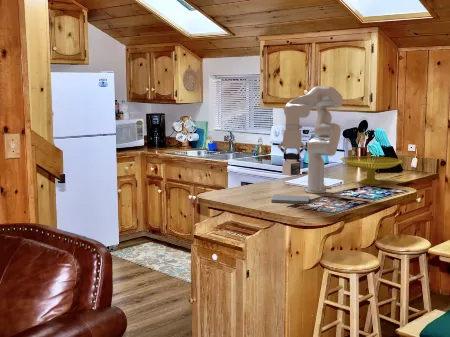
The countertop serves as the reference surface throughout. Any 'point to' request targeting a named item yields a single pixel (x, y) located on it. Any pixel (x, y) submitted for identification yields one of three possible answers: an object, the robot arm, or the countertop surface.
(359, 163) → the cake stand
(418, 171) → the countertop surface
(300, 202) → the serving board
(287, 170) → the medicine bottle
